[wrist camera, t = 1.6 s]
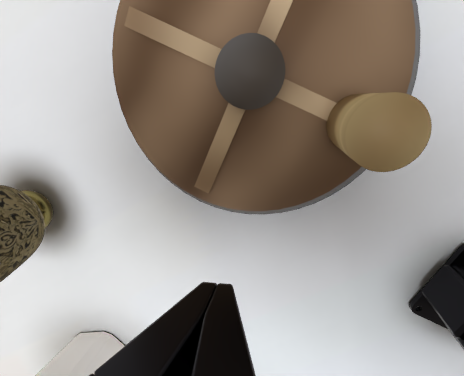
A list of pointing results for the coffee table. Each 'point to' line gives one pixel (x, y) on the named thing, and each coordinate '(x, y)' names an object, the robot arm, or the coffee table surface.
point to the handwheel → (268, 94)
